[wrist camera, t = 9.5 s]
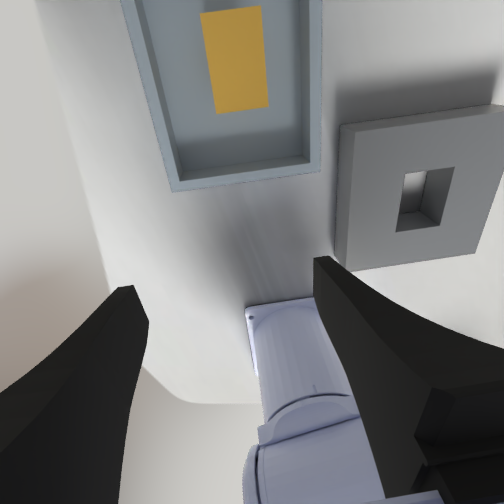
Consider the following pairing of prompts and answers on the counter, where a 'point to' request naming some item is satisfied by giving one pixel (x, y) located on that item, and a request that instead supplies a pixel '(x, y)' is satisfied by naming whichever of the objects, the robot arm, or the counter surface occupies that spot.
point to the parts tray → (202, 101)
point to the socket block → (435, 191)
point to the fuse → (236, 58)
